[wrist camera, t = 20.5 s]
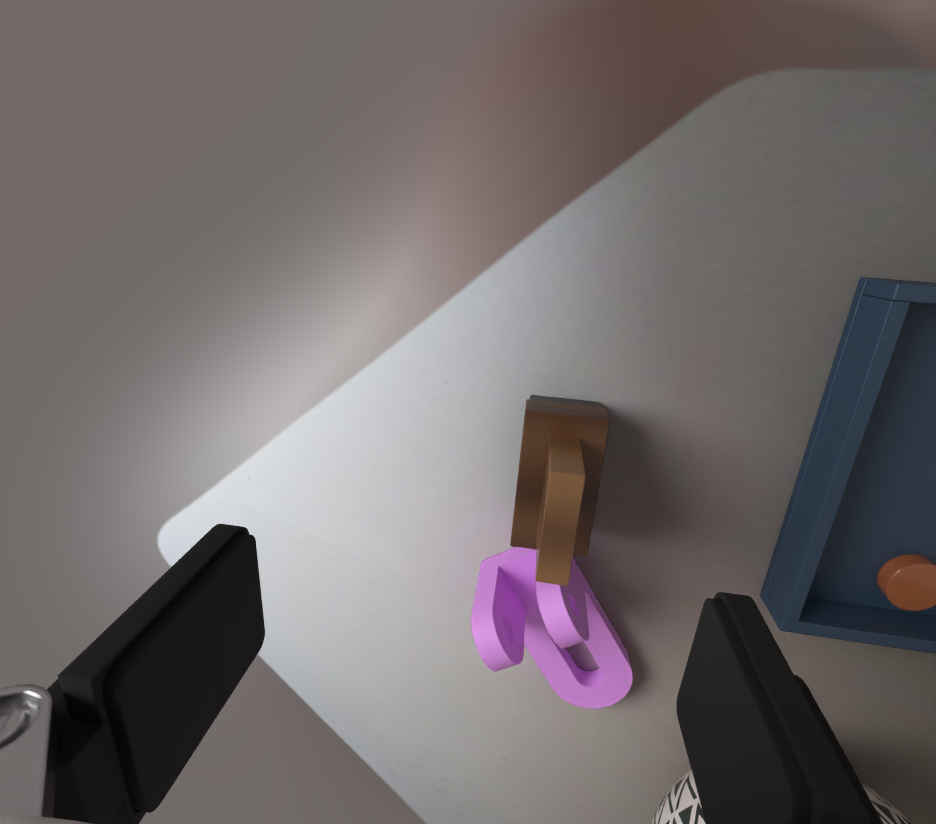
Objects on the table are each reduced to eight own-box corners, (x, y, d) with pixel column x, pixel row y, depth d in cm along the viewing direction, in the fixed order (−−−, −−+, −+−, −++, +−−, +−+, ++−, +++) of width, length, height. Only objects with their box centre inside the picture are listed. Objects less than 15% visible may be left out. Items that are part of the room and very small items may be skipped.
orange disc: (886, 550, 30) (897, 560, 29) (947, 557, 30) (960, 568, 29) (868, 595, 31) (878, 606, 30) (926, 603, 31) (938, 614, 30)
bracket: (481, 560, 35) (467, 636, 29) (557, 530, 33) (559, 602, 27) (569, 700, 38) (574, 798, 31) (642, 678, 36) (664, 776, 30)
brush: (527, 391, 31) (521, 443, 23) (603, 399, 30) (622, 454, 23) (513, 515, 34) (504, 597, 26) (583, 524, 33) (593, 611, 26)
